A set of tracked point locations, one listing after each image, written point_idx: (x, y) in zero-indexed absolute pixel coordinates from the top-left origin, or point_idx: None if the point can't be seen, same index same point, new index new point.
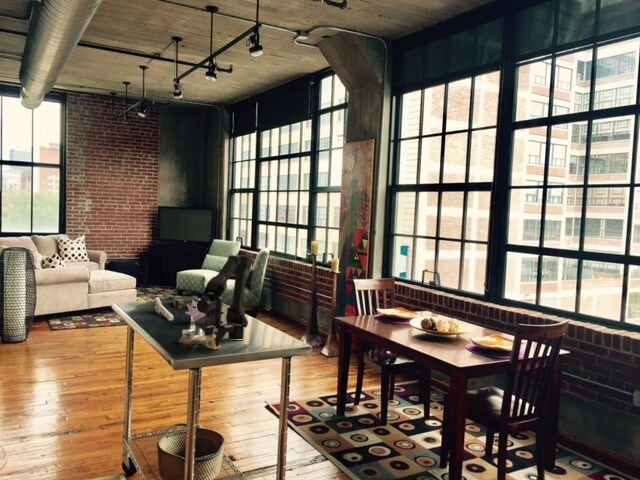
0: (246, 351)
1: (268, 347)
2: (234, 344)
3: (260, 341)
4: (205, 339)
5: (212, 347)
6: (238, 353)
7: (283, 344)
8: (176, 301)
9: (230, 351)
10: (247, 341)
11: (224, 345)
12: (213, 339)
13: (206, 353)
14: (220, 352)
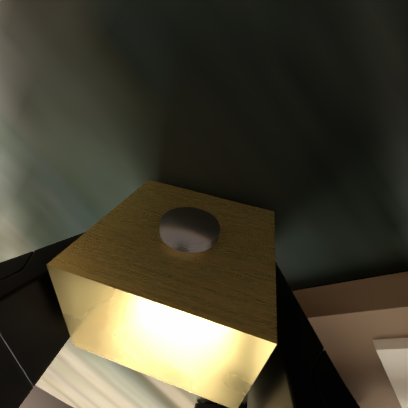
0: None
1: None
2: None
3: (137, 399)
4: (384, 363)
5: (163, 191)
6: (3, 209)
7: (63, 381)
8: None
9: (63, 222)
10: (172, 396)
11: None
12: (92, 247)
13: (109, 7)
14: (72, 156)
